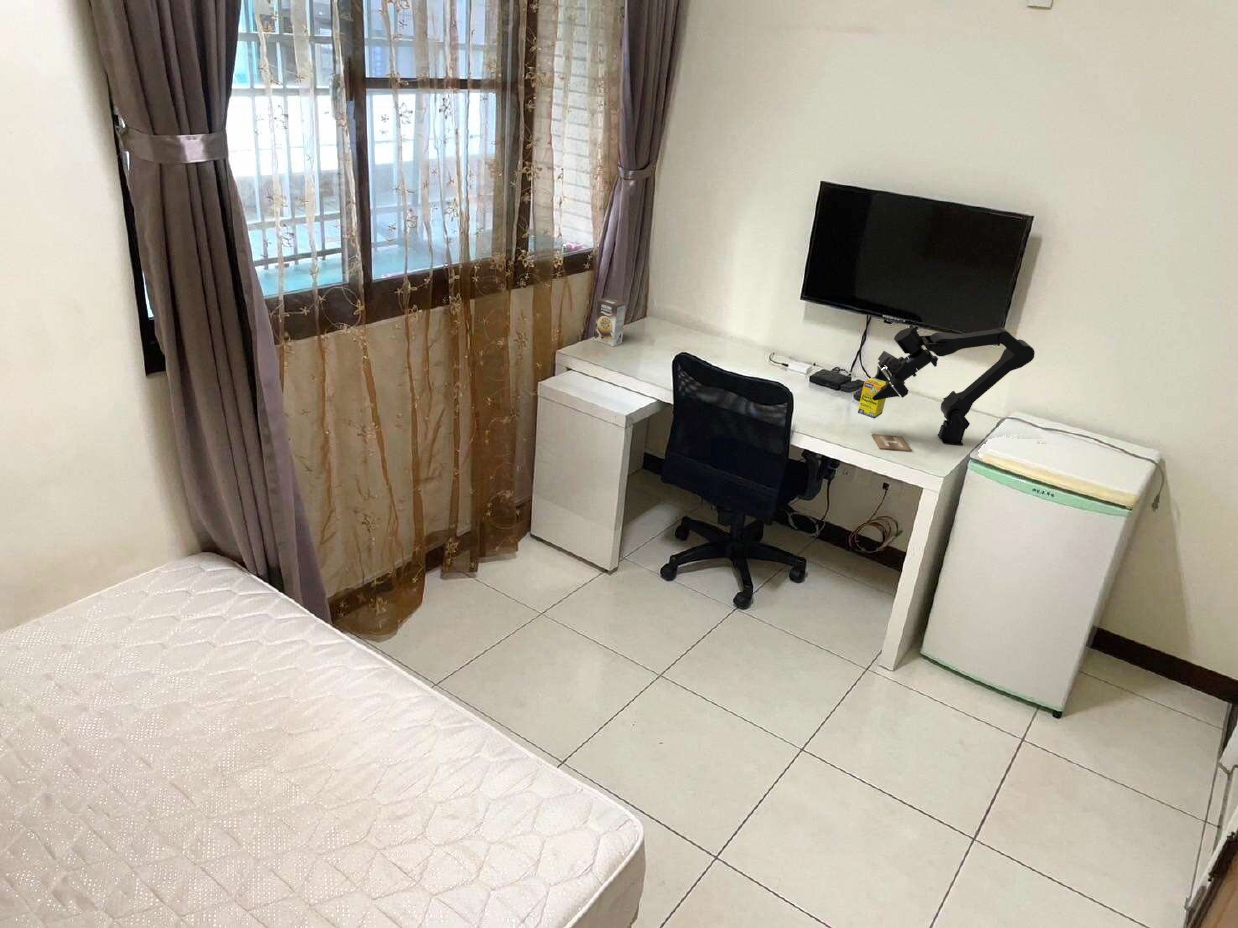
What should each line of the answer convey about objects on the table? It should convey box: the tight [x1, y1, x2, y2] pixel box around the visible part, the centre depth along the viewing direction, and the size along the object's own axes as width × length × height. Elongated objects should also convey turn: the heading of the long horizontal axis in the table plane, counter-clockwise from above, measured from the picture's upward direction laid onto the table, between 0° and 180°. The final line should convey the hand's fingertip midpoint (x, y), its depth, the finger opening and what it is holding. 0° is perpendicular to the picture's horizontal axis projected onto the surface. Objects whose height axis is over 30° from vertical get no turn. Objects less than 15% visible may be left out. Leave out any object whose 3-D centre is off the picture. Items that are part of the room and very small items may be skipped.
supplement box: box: [857, 376, 887, 420], centre depth 279 cm, size 6×6×11 cm
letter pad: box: [870, 433, 912, 453], centre depth 279 cm, size 10×10×1 cm
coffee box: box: [594, 296, 627, 347], centre depth 335 cm, size 9×6×16 cm
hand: (869, 394), depth 279 cm, fingers closed on supplement box, 8 cm apart
